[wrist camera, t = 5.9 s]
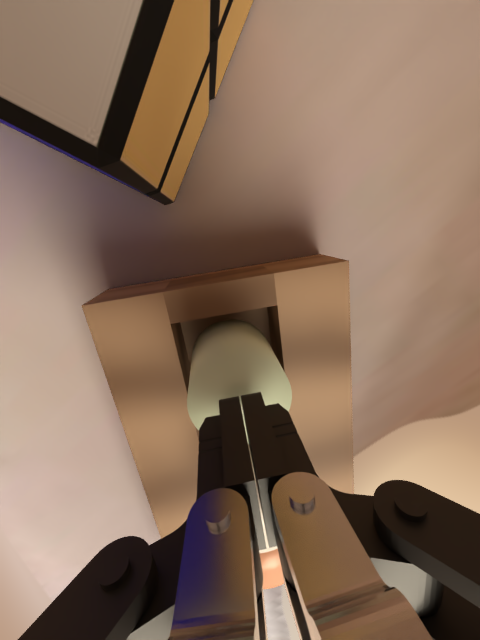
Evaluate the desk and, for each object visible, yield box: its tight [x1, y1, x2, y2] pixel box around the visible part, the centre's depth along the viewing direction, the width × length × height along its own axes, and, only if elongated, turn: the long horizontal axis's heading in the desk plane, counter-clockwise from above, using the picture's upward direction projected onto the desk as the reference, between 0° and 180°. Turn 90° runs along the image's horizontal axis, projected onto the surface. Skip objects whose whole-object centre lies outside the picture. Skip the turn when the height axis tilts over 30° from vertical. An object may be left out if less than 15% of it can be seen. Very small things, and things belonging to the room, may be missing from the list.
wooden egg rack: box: [82, 254, 354, 539], centre depth 18 cm, size 21×12×4 cm, turn 8°
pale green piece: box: [187, 319, 292, 443], centre depth 13 cm, size 4×4×4 cm
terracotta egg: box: [260, 549, 284, 589], centre depth 19 cm, size 4×4×4 cm
